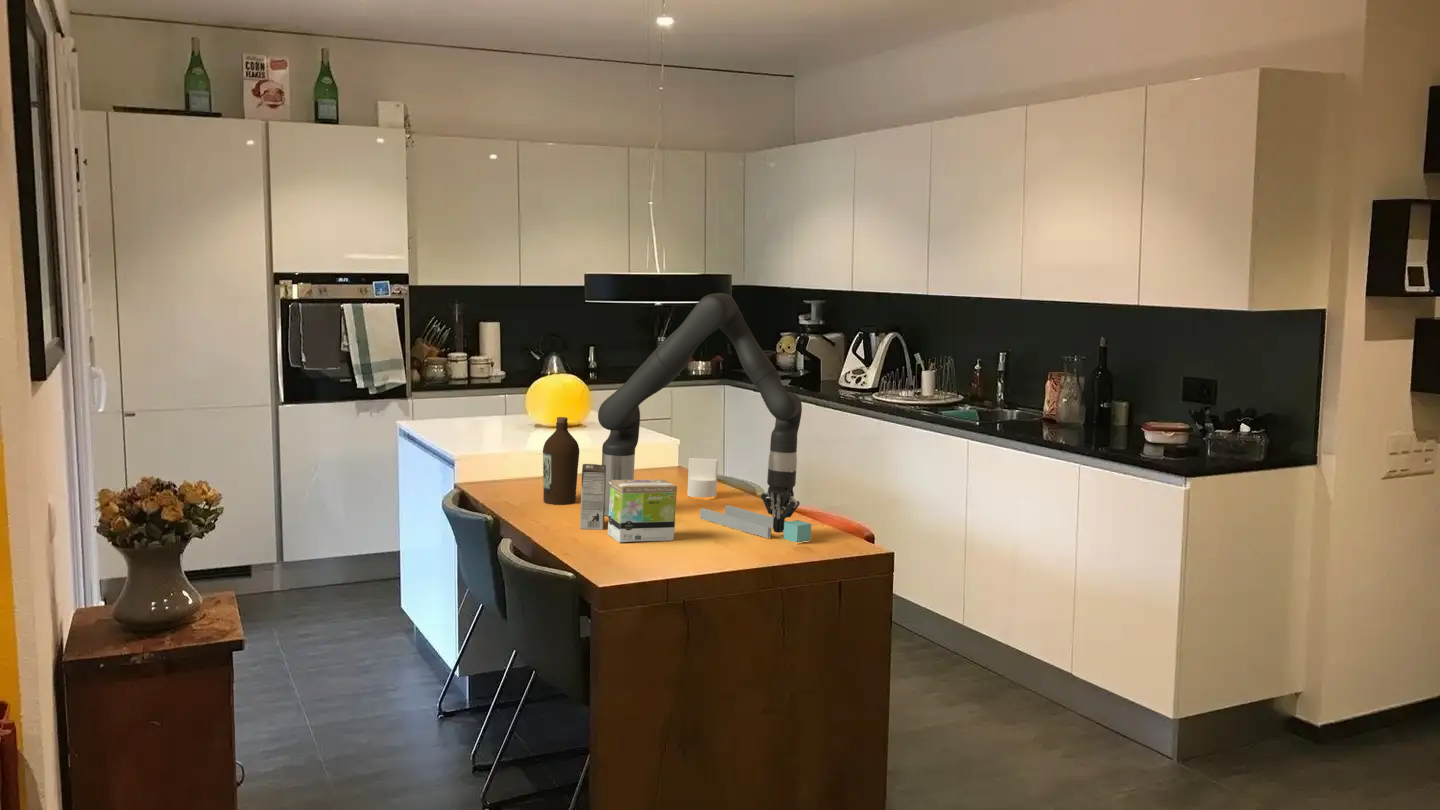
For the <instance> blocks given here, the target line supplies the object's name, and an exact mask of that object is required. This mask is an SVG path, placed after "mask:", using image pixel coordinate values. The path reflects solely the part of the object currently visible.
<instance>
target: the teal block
mask: <svg viewBox="0 0 1440 810" xmlns="http://www.w3.org/2000/svg"><path fill="white" fill-rule="evenodd" d="M788 521H789V520H788ZM811 535H812V523H810V522H805V521H803V520H798V519H797V520H791V521H789V522H784V532H783V539H786V540H789V541H793V542H797V543H798V542H803V541H809V540H810V541H811V540H812V539H811V537H812V536H811Z"/></svg>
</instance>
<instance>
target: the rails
mask: <svg viewBox="0 0 1440 810" xmlns="http://www.w3.org/2000/svg"><path fill="white" fill-rule="evenodd" d="M724 507H725V508H724V512H723V513H722V512H719V511H714V510H712V509H708V508H705V507H704V508H700V510H699V511H700V513H699V514H700V515H699V519H700V518H701V519H700V520H702V519H704V520H703V521H705V520H708V521H707V522H709V521H711V522H710V523H712V522H714V523H713V524H715V523H718V524H717V525H719V524H721V525H720V526H722V525H724V526H723V527H726V526H728V527H727V528H729V527H731V528H730V529H732V528H734V529H733V530H736V529H738V530H737V531H739V530H741V531H740V532H743V531H744V532H743V533H746V532H748V533H747V534H749V533H751V534H750V535H753V534H755V535H754V536H756V535H759V536H758V537H760V536H762V537H761V538H763V537H766V538H769V537H771V538H772V529H771V527H772V528H773V519H774V518H773V516H770V515H766V514H762V513H759V512H755V511H752V510H748V509H745V508H741V507H736V506H733V505H729V504H728V505H725V506H724ZM784 522H789V520H785V521H784ZM783 531H784V530H783ZM766 538H765V539H766Z"/></svg>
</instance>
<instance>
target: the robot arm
mask: <svg viewBox="0 0 1440 810" xmlns="http://www.w3.org/2000/svg"><path fill="white" fill-rule="evenodd" d="M718 329H720V330H721V331H722V332H723V333H724V334H725V335H726V336H727V338H728V339H729V340H730V342H731V344H732V346H733V347H734V349H735V351H736V354H737V357H738V359H739V362H740V365H741V366H742V368H743V370H744V372H745V374H746V375H747V377H748V378H749V379H750V381H751V382H752V384H753V385H754V386H755V388H756V389H757V390H758V392H759V393H760V396H761V398H762V399H763V402H764V404H765V406H766V409H768V411H769V413H770V414H771V415H772V416H773V417H774V418H775V422H774V423H775V424H774V428H773V430H772V432H771V435H770V444H769V447H770V448H769V454H768V462H767V463H768V464H767V465H768V466H767V479H766V480H767V482H766V483H767V485H768V488H767V492H766V493H761V500H762V502H763V503H764V507H765V508H766V511H767V513H768V514H769V515H771V517H773V518H774V519H773V529H774V530H773V529H772V530H773V532H774V533H778V534H779V533H784V532H783V530H784V521H786V520H785V519H788V518H791V517H792V515H793V514H794V513H795V511H796V510H797V509H798V508H799V506H800V504H801V503H800V501H799V500H796V499H795V497H794V496H795V494H794V487H795V486H796V483H797V482H796V481H797V465H798V458H797V451H798V450H797V448H798V433H799V428H800V424H801V418H802V413H803V409H802V408H803V407H802V405H803V404H802V401H801V398H800V397H799V396H798V395H797V394H796V393H794V392H791V391H790V392H789V391H787V389H786V388H785V386H784V384H783V383H782V377H781V375H780V373H779V371H778V370H777V369H776V367H775V366H774V364H773V363H772V362H771V360H770V359H769V357H768V356H767V355H766V353H765V352H764V351H763V349H762V348H761V346H760V344H758V341H757V340H756V338H755V337H754V335H753V333H752V331H751V330H750V328H749V326H748V324H747V322H746V320H745V318H744V316H743V314H742V312H741V310H740V308H739V305H738V304H737V302H736V301H735V299H734V298H733V297H732V296H731V295H729V294H727V293H723V292H716V293H710V294H707V295H705V296H703V297H702V298H701V299H699V300H698V302H697V303H696V305H695V306H694V307H693V309H692V310H691V311H690V313H689V314H688V315H687V317H686V318H685V319H684V321H683V322H682V323H681V324H680V325H679V326H678V327H677V328H676V329H675V330H674V331H673V332H672V333H671V334H670V335H669V336H667V338H666V339H665V340H664V341H663V342H662V343H660V345H658V346H657V347H656V348H655V350H654V351H653V352H652V353H651V354H650V355H649V356H647V359H645V361H644V362H643V363H642V364H641V365H640V366H639V367H638V369H636V371H635V372H634V373H633V374H632V375H631V376H630V377H629V378H628V379H627V381H626V382H624V384H622V385H621V386H620V387H619V388H618V389H616V390H615V391H613V393H612V394H611V395H610V396H608V397H607V398H606V399H605V400H604V401H603V402H602V403H601V404H600V406H599V407H598V413H597V420H598V424H600V426H601V427H602V428H603V429H605V430H608V431H610V433H609V435H608V437H607V439H606V440H605V441H604V442H603V443H602V450H601V451H602V452H601V465H606V488H605V513H604V516H605V517H609V502H610V486H611V480H635V462H636V461H635V460H636V458H635V457H636V448H637V446H638V443H639V437H640V426H641V410H640V405H641V404H643V402H644V401H646V400H647V399H649V398H650V397H652V396H653V395H655V394H656V393H658V392H660V391H661V390H662V389H664V388H665V387H667V386H668V385H669V384H670V383H672V382H673V381H674V380H675V379H676V378H677V377H678V376H679V375H680V373H682V372H683V371H684V369H685V368H686V367H687V366H688V364H689V362H690V361H691V359H692V357H693V355H694V353H695V351H696V350H697V348H698V347H699V345H700V344H702V342H703V341H704V340H705V339H707V337H708V336H710V335H711V334H712V333H714V332H715V331H716V330H718Z"/></svg>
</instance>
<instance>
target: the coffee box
mask: <svg viewBox="0 0 1440 810" xmlns="http://www.w3.org/2000/svg"><path fill="white" fill-rule="evenodd" d="M581 469H582V470H581V487H580V517H579V518H580V525H579V526H580V527H579V529H580V530H596V531H597V530H600V531H601V530H602V531H603V530H604V526H605V515H604V513H605V488H606V465H602V464H596V463H583V464H582V467H581Z"/></svg>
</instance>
